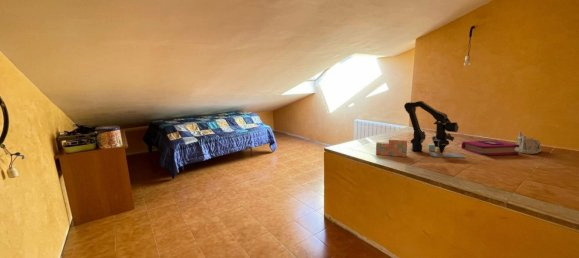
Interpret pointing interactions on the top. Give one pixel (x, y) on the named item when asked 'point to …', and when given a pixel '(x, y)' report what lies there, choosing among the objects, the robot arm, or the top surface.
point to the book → (490, 147)
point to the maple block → (439, 151)
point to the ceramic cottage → (527, 144)
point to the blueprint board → (447, 155)
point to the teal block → (431, 147)
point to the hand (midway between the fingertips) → (439, 151)
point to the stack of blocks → (392, 147)
